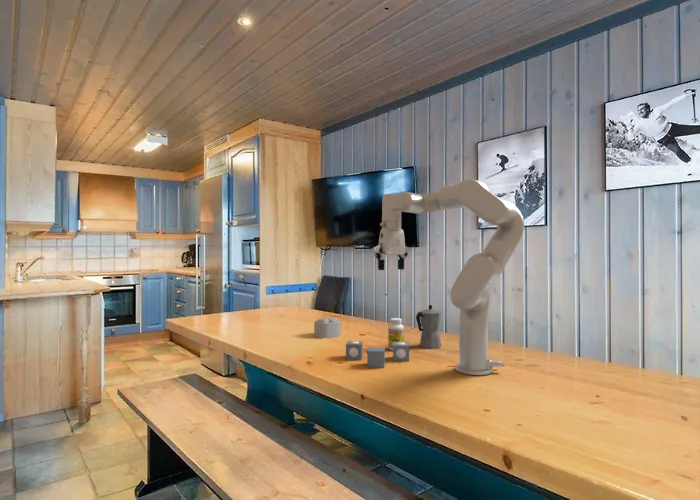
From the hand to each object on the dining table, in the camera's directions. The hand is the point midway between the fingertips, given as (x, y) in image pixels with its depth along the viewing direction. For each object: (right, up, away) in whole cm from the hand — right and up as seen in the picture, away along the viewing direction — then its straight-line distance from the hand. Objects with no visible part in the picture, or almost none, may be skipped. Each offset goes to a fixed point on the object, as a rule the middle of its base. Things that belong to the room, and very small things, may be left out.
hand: (391, 269), depth 168 cm
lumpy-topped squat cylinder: (-27, -35, +42) cm, 60 cm away
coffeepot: (+18, -34, +17) cm, 43 cm away
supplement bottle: (+3, -34, +13) cm, 37 cm away
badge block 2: (+4, -34, -3) cm, 35 cm away
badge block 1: (-14, -34, -1) cm, 37 cm away
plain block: (-7, -34, -12) cm, 37 cm away
